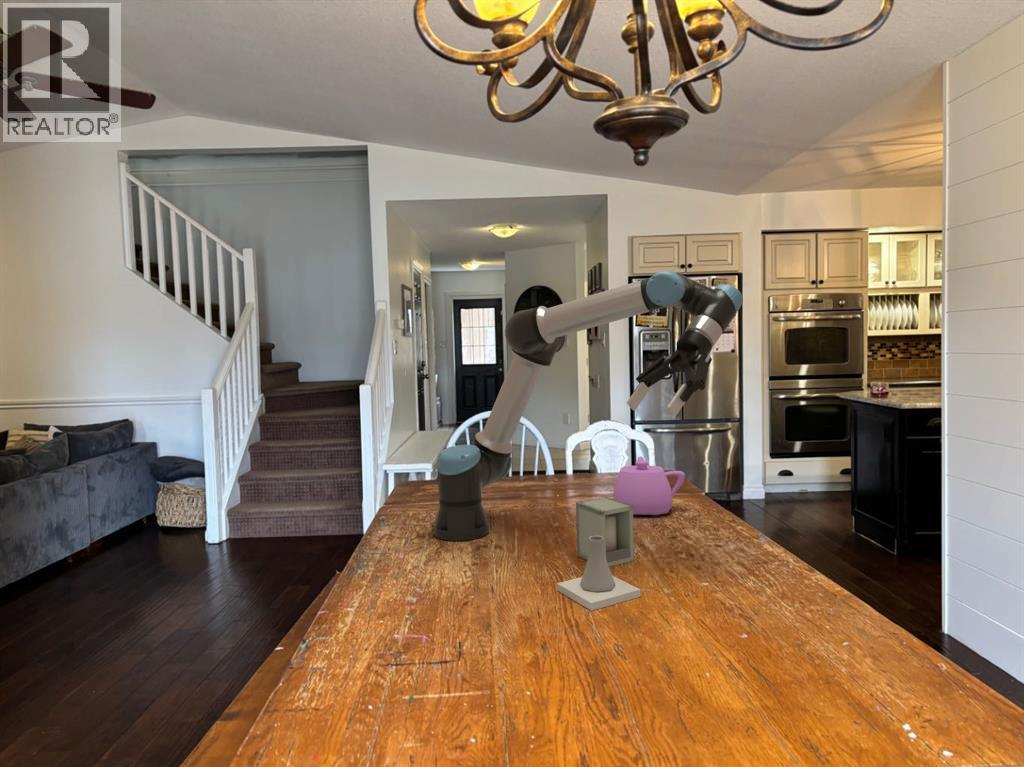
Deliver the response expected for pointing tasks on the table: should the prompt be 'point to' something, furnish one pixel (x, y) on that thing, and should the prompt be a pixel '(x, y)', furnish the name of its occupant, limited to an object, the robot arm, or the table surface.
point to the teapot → (646, 488)
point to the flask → (597, 568)
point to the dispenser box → (606, 529)
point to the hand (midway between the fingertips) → (650, 409)
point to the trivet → (598, 593)
